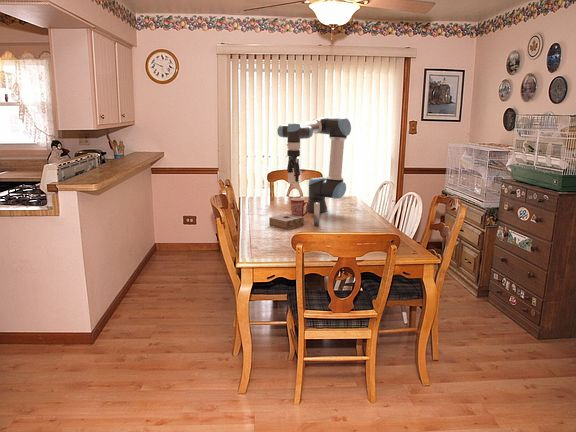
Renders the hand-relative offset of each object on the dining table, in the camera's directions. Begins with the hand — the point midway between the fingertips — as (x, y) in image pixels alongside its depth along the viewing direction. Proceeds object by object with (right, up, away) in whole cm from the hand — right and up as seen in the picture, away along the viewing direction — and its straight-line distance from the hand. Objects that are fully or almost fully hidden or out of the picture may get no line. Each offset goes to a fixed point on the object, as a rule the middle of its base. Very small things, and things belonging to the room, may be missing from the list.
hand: (293, 185), depth 285 cm
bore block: (-4, -24, +7) cm, 25 cm away
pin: (+14, -24, +7) cm, 29 cm away
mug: (+5, -21, +22) cm, 30 cm away
